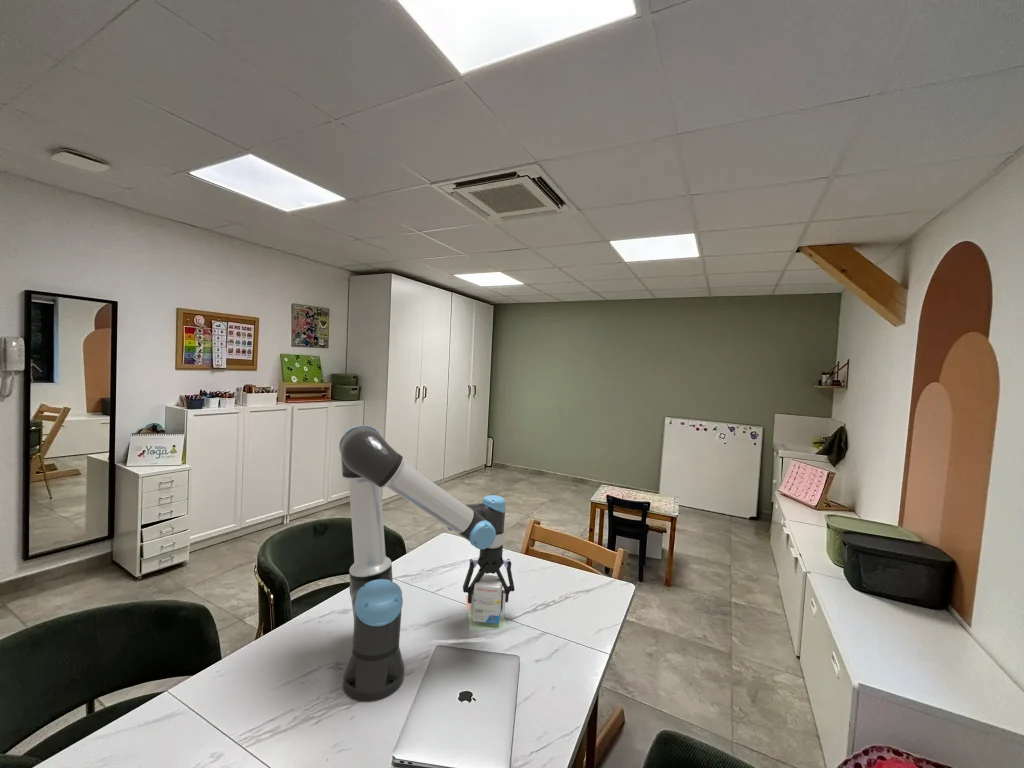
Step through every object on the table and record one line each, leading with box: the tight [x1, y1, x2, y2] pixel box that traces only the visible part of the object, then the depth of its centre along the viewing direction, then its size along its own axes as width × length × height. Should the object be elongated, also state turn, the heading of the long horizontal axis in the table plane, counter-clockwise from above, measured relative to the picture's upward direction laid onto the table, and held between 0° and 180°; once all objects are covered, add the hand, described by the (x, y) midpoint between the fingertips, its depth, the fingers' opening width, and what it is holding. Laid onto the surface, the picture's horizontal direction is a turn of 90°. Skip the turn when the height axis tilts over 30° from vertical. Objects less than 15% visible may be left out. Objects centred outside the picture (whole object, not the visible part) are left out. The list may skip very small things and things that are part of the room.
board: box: [465, 595, 508, 631], centre depth 139 cm, size 22×14×1 cm, turn 10°
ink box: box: [473, 574, 503, 624], centre depth 133 cm, size 9×8×12 cm
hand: (487, 612), depth 133 cm, fingers closed on ink box, 10 cm apart
